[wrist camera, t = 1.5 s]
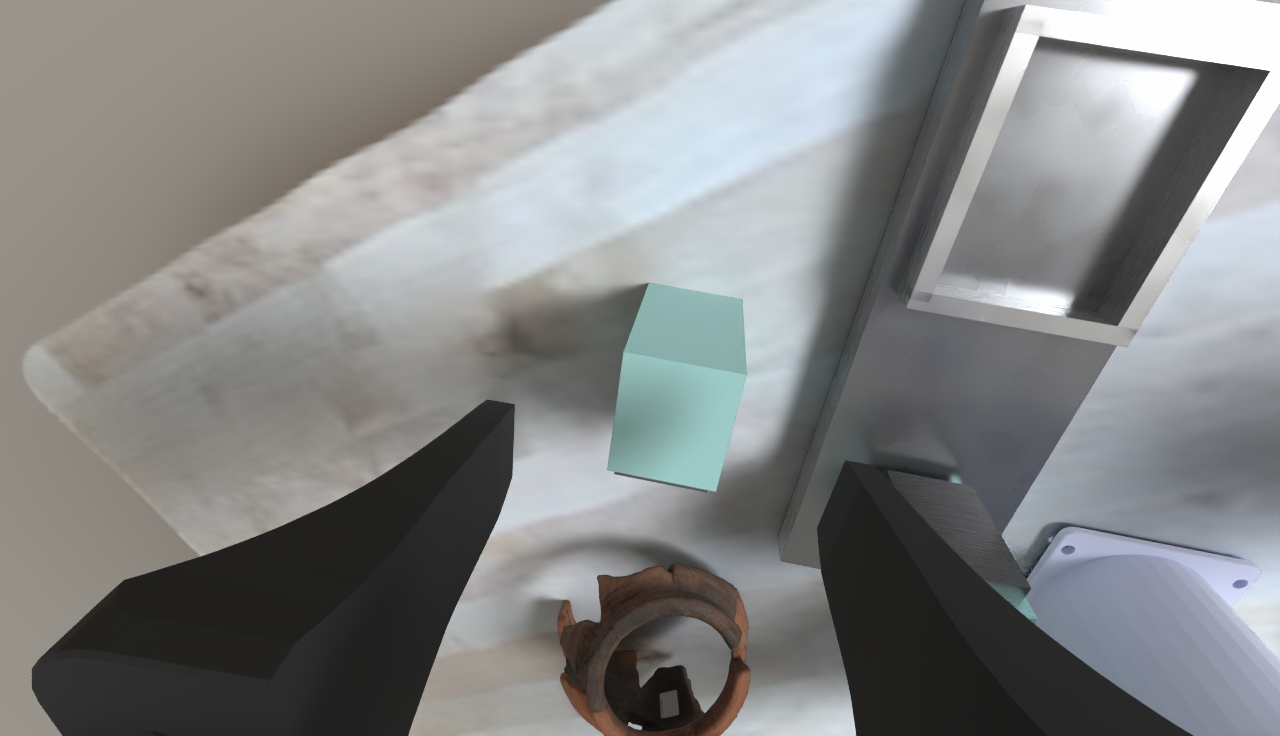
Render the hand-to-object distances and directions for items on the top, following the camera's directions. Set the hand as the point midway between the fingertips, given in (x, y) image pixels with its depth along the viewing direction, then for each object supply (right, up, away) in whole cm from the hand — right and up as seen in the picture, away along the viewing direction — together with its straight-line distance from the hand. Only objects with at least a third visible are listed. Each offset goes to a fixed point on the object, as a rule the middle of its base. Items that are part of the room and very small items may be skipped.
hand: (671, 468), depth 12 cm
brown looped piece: (0, -11, +18) cm, 21 cm away
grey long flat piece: (+11, +3, +9) cm, 15 cm away
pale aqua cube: (+1, +3, +10) cm, 11 cm away
